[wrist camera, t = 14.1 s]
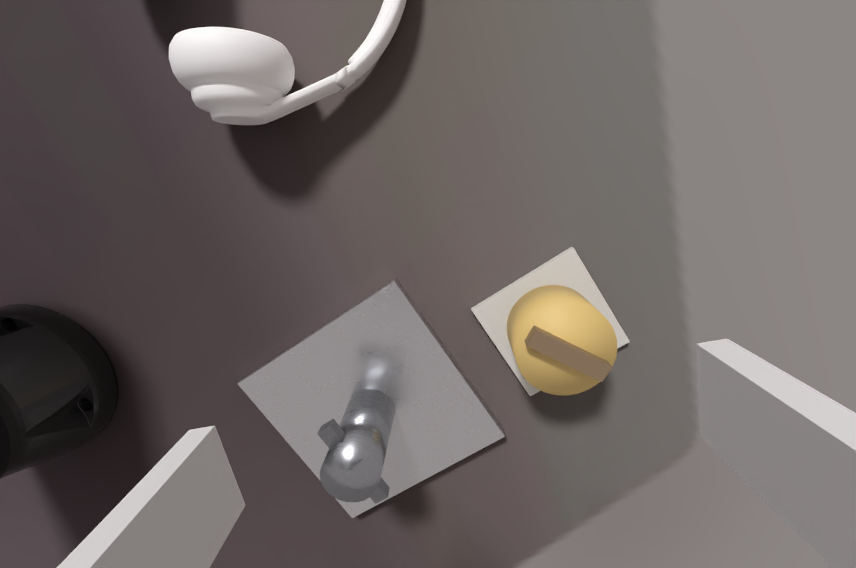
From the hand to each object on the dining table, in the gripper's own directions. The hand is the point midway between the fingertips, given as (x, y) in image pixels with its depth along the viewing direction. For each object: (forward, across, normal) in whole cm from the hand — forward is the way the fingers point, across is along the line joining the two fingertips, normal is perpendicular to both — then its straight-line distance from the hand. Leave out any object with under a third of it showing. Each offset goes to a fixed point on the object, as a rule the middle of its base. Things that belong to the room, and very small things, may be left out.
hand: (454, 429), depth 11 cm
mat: (+25, +8, -8) cm, 27 cm away
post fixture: (+25, -9, -13) cm, 30 cm away
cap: (+24, +8, -8) cm, 27 cm away
